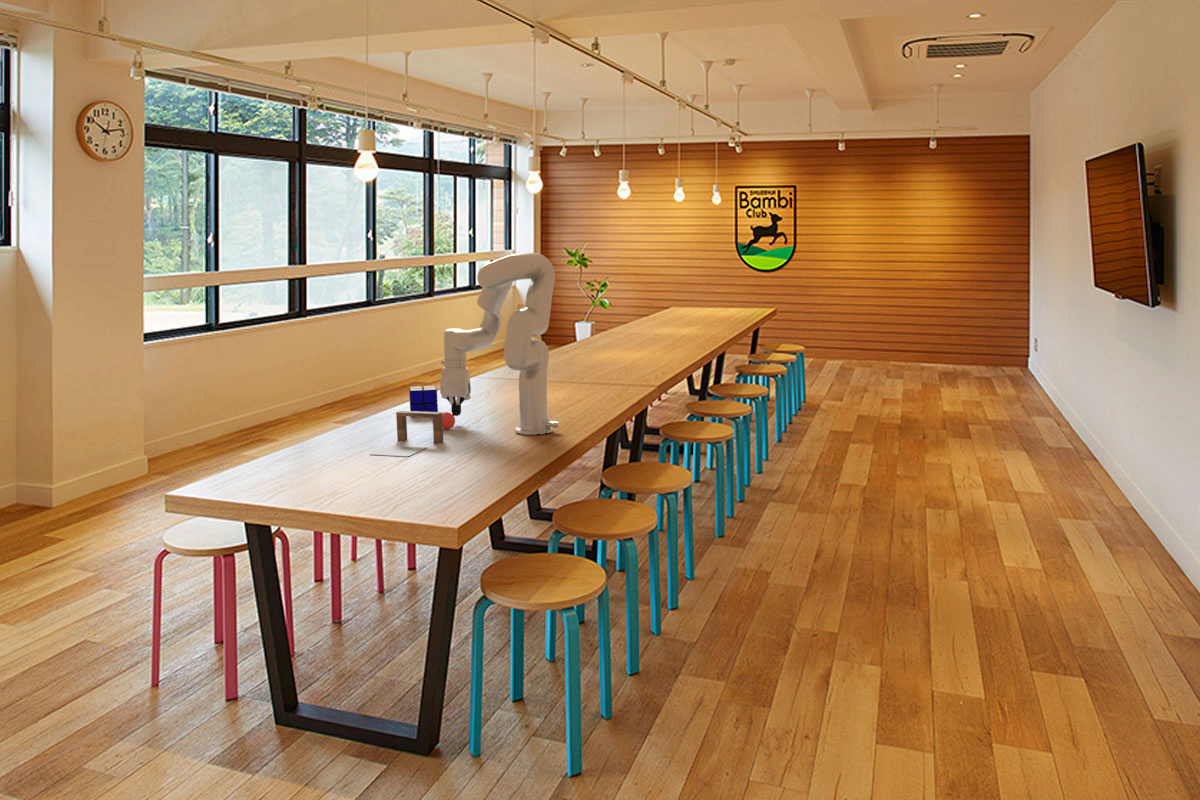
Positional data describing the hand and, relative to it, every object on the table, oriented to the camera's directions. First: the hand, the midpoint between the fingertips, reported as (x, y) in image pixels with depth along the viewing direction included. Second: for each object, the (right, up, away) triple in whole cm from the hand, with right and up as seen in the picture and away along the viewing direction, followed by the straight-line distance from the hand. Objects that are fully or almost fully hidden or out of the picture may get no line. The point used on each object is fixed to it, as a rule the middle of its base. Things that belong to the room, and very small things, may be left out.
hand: (456, 415), depth 357 cm
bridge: (-8, -8, -28) cm, 30 cm away
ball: (-2, -2, -9) cm, 10 cm away
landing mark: (-12, -11, -42) cm, 45 cm away
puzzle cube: (-15, 0, +21) cm, 26 cm away
